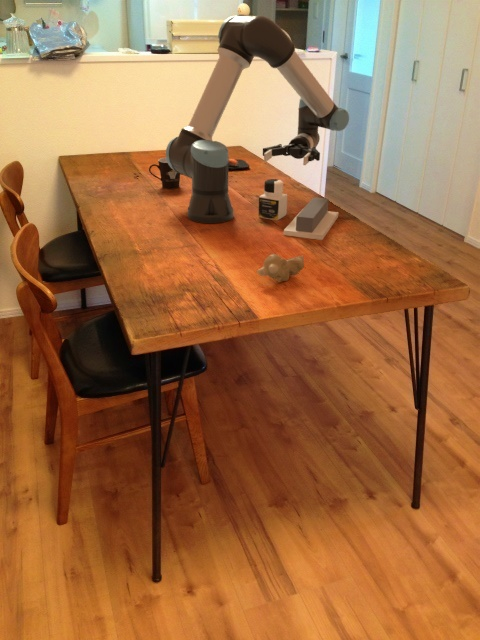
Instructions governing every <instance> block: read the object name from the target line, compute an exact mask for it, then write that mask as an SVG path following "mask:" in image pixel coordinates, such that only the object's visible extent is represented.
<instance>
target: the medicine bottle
mask: <svg viewBox="0 0 480 640" xmlns="http://www.w3.org/2000/svg"><path fill="white" fill-rule="evenodd" d="M263 188H264V189H263V190H264V191H263V194H261V195H259V197H258V218H261V219H267V220H272V221H277V222H278V221H279V220H281V219H282V218H284V217H285V216H287V213H288V212H287V211H288V209H287V208H288V194H287V193H284V182H283V181H282V180H281V179H278V178H269V179H267V180H266V179H265V181H264V187H263Z"/></svg>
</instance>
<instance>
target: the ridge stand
mask: <svg viewBox="0 0 480 640" xmlns="http://www.w3.org/2000/svg"><path fill="white" fill-rule="evenodd" d="M329 199H330V198H327V197H319V196H318V197H316V196H313V197H312V198H311V199H310V200H309V202H308V203H307V204H306V205H305V206H304V207H303V208H302V209H301V210H300V211H299V212H298V214H297V215H296V216H295V217H294V218H293V220H292V221H290V222H289V224H288V225H287V226H286V227H285V228H284V229H283V236H289V237H297V238H302V239H312V240H318V241H323V240H324V238H325V237H326V235H327V234H328V233H329V232H330V230H331V228H332V226H333V225H334V224H335V222H336V221H337V219H338V217H339V212H338V211H329Z"/></svg>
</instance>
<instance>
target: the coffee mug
mask: <svg viewBox="0 0 480 640" xmlns="http://www.w3.org/2000/svg"><path fill="white" fill-rule="evenodd" d="M157 161H158V164H154V163H153V164H151V165H150V166H149V168H148V171H149V173H150V175H151V176H153V177H154V178H156V179H158V180H160V182H161V185H162V188H163V189H166V190H167V189H168V190H170V189H171V190H173V189H177V188H180V183H181V182H180V181H181V174H179V173H177V172H176V171H174V170H173V169H172V168H171V167H170V166H169V164H168V162H167V159H166V157H162V158H159V159H157ZM152 167H157V168H158V170H159V174H160V177H159V176H157V175H155V174H153V172H152V171H151V169H152Z"/></svg>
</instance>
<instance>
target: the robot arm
mask: <svg viewBox="0 0 480 640" xmlns="http://www.w3.org/2000/svg"><path fill="white" fill-rule="evenodd" d="M217 39H218V44H219V45H218V48H217V49H216V51H217V53H218V59H217V60H216V64H215V65H214V68H213V70H212V72H211V75H210V77H209V79H208V82H207V83H206V85H205V88H204V90H203V92H202V95H201V97H200V99H199V101H198V104H197V106H196V108H195V110H194V113H193V114H192V117H191V119H190V121H189V123H188V125H186V126H184V127H182V128H181V129H180V132H179V134H178V136H176V137H174V138H172V139H171V140H170V141H169V142H168V144H167V146H166V150H165V158H166V159H167V162H168V164H169V166H170V167H171V168H172V169H173V170H174V171H176V172H177V173H179V174H180V176H184V177H187V178H189V179H191V197H190V199H189V205H188V206H187V214H186V215H187V218H188V219H189V220H190V221H193V222H195V223H200V224H201V223H202V224H219V223H220V224H222V223H226V222H228V221H230V220H233V218H234V208H233V206H232V203H231V198H230V195H229V194H230V193H229V170H228V164H229V159H230V156H229V149H228V147H227V146H226V145H225V144H224V143H223V142H220V141H217V140H213V136H214V133H215V132H216V130H217V127H218V126H219V123H220V121H221V119H222V116H223V114H224V112H225V110H226V107H227V105H228V102H229V101H230V99H231V96H232V95H233V92H234V90H235V88H236V85H237V84H238V81H239V79H240V77H241V75H242V73H243V71H244V69H245V70H246V69H248V68H250V66H251V64H252V62H253V59H254V58H259V59H262V60H263V61H265V62H266V63H267V64H268V65H269V66H270V68H272V69H277V70H278V72H279V73H280V74H281V75H282V76H283V78H284V79H285V80H286V82H287V83H288V84H289V85H290V86H291V88H292V90H294V91H295V93H296V94H297V95H298V96H299V97H300V98H299V102H298V114H297V115H298V119H297V120H298V121H297V122H298V123H297V135H296V136H295V137H294V138H292V139H291V140H290V141H289V143H288V144H287V145H283V144H281V143H279V144H277V145H273V146H267V147H263V148H262V156H263V162H264V163H266V162H268V161H270V159H272V157H278V156H284V157H288V156H289V157H292V158H294V159H297V160H298V159H299V160H301V159H303V163H302V165H303V166H306V165H307V164H309V163H310V162H313V161H316V162H318V161H319V162H320V159H321V153H320V151H319V150H318V149H317V146H318V144H319V142H320V141H321V140H320V139H321V137H320V134H319V128H323V129H326V130H330V131H332V132H333V131H335V132H341V131H343V130H345V129H346V128H347V126H348V124H349V122H350V114H349V111H347V110H346V109H344V108H342V107H338V105H336V103H335V102H334V101H333V99H332V98H331V97H330V95H329V94H328V93H327V91H326V90H325V89H324V88H323V86H322V85H321V84H320V82H319V81H318V80H317V78H316V77H315V76H314V75H313V73H312V72H311V71H310V69H309V68H308V67H307V65H306V64H305V62H304V61H303V60H302V59H301V57H300V56H299V54H298V53H297V52H296V46H295V44H294V42H293V41H292V40H291V38H290V37H289V36H288V35H287V33H286V32H285V31H284V30H283V29H282V28H281V27H280V26H279V25H278V24H277V23H276V22H274V21H273V20H272V19H271V18H268V17H266V16H263V15H246V14H236V15H232V16H229V17H228V18H226V19H224V21H223V22H222V24H221V25H220V27H219V31H218V38H217ZM282 145H283V146H282Z"/></svg>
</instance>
